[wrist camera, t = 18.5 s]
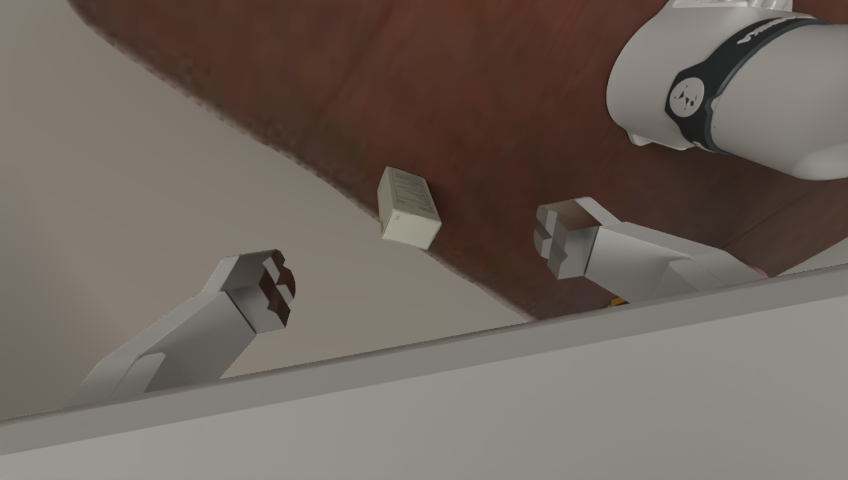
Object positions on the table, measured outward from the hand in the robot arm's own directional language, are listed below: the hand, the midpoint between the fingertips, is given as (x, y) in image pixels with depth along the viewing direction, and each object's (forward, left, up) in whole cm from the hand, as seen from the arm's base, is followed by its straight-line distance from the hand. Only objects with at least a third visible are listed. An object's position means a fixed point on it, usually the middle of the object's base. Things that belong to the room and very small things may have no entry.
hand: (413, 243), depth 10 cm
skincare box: (0, +14, -33) cm, 36 cm away
